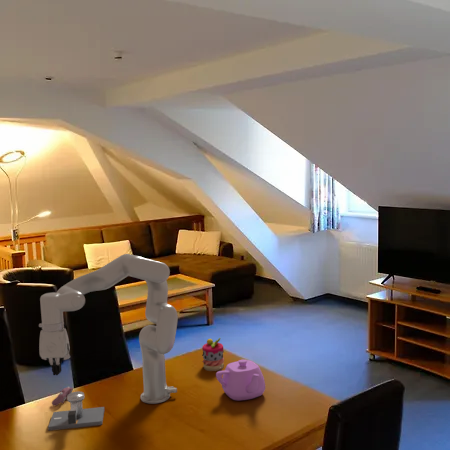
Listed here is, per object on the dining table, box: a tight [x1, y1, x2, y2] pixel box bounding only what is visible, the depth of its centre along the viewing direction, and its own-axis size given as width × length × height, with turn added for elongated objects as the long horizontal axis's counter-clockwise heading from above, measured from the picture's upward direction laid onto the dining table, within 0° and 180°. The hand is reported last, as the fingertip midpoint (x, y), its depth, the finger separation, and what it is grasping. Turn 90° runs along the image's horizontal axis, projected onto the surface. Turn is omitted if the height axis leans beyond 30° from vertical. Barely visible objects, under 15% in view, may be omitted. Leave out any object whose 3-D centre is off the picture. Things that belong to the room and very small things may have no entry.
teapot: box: [215, 358, 266, 401], centre depth 214 cm, size 23×21×15 cm
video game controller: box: [51, 385, 74, 407], centre depth 217 cm, size 10×5×7 cm, turn 169°
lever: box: [66, 391, 85, 424], centre depth 195 cm, size 17×6×9 cm, turn 10°
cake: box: [201, 337, 225, 372], centre depth 248 cm, size 10×10×15 cm
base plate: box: [47, 406, 105, 431], centre depth 200 cm, size 20×12×2 cm, turn 99°
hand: (57, 373), depth 189 cm, fingers closed
